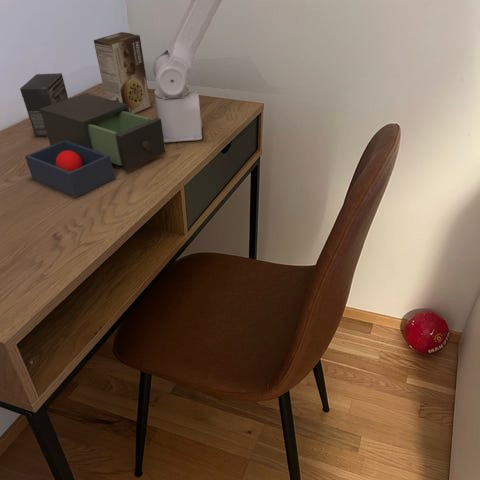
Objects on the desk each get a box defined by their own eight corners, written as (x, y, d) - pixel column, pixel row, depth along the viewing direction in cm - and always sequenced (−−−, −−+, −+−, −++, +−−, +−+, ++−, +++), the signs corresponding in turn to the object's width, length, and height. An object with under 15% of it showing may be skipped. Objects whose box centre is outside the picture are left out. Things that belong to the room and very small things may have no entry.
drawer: (169, 153, 97) (165, 120, 92) (131, 172, 90) (124, 137, 86) (124, 139, 103) (118, 107, 98) (85, 156, 97) (76, 122, 92)
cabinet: (135, 144, 103) (128, 104, 97) (92, 164, 96) (82, 121, 90) (94, 131, 109) (85, 92, 103) (51, 149, 102) (39, 108, 96)
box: (114, 178, 91) (109, 155, 87) (76, 197, 85) (69, 173, 82) (71, 162, 97) (65, 139, 93) (32, 178, 91) (24, 155, 88)
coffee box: (133, 102, 123) (121, 31, 112) (151, 107, 120) (141, 34, 109) (107, 113, 118) (92, 39, 107) (125, 118, 115) (111, 42, 104)
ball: (86, 169, 92) (80, 145, 89) (84, 180, 89) (77, 155, 86) (61, 171, 92) (54, 147, 89) (58, 182, 89) (50, 157, 85)
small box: (48, 120, 115) (35, 72, 108) (75, 119, 115) (63, 72, 107) (33, 137, 107) (17, 87, 100) (61, 136, 107) (48, 87, 100)
